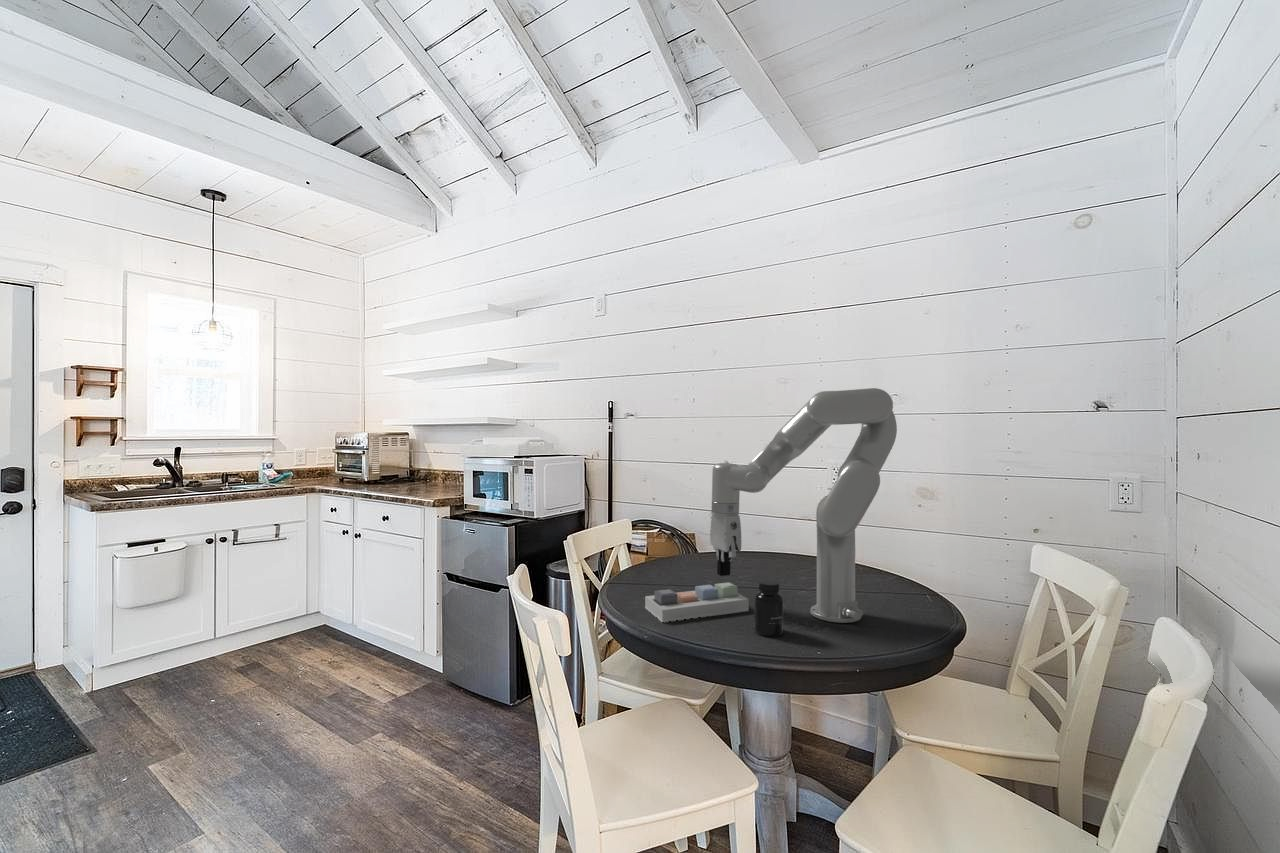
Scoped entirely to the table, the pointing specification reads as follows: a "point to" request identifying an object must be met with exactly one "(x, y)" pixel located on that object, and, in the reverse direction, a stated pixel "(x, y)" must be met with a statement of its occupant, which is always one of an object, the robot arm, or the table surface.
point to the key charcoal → (665, 597)
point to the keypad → (697, 608)
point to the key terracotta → (686, 597)
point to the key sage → (726, 590)
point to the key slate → (706, 592)
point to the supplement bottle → (768, 609)
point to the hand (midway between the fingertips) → (723, 574)
